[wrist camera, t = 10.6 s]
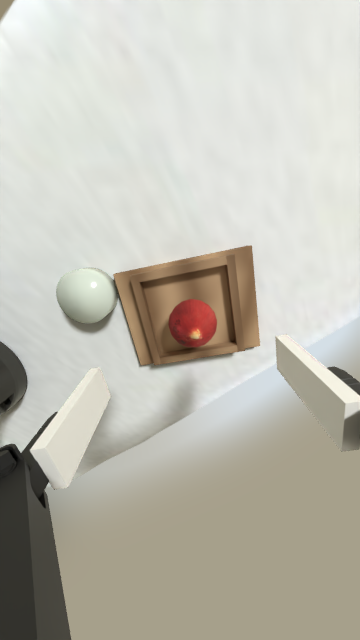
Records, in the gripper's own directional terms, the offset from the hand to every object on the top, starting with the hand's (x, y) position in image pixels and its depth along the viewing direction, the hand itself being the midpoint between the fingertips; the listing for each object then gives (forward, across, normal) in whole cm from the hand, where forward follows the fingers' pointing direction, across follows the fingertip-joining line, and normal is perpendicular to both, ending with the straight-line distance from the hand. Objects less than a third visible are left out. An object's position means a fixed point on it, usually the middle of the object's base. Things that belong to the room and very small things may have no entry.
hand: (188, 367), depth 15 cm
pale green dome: (+16, -12, +5) cm, 20 cm away
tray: (+15, +1, 0) cm, 15 cm away
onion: (+14, +1, 0) cm, 14 cm away
